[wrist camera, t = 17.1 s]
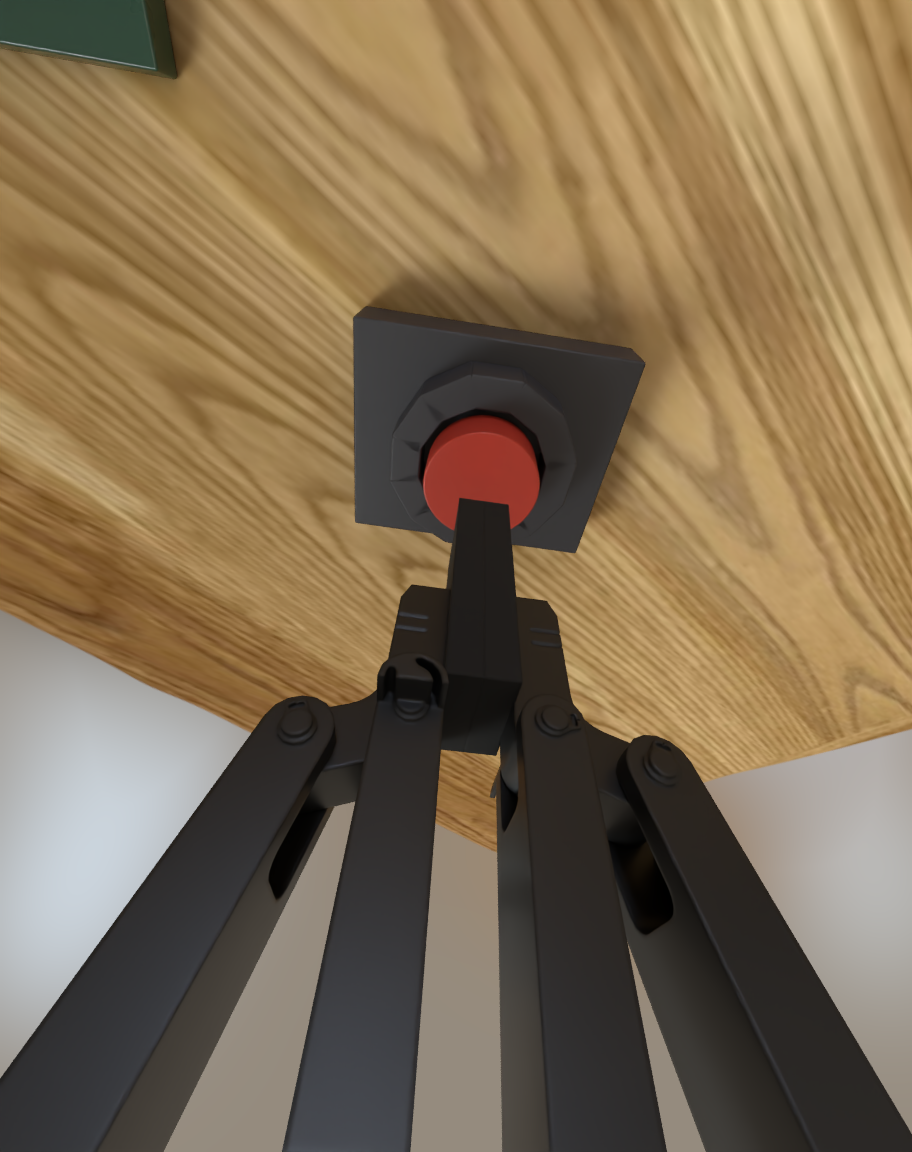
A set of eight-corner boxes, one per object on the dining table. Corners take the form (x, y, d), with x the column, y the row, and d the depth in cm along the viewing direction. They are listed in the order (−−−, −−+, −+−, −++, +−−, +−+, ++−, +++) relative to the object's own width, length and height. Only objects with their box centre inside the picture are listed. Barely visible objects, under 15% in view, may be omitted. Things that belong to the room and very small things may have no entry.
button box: (363, 500, 24) (345, 544, 21) (365, 305, 18) (340, 326, 15) (569, 529, 25) (581, 576, 22) (632, 348, 19) (661, 376, 16)
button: (423, 507, 20) (418, 529, 19) (433, 406, 17) (428, 423, 16) (522, 521, 20) (525, 544, 19) (548, 423, 17) (553, 442, 16)
